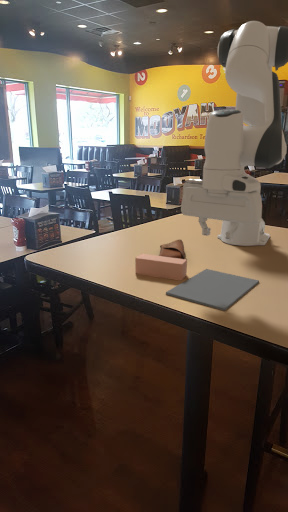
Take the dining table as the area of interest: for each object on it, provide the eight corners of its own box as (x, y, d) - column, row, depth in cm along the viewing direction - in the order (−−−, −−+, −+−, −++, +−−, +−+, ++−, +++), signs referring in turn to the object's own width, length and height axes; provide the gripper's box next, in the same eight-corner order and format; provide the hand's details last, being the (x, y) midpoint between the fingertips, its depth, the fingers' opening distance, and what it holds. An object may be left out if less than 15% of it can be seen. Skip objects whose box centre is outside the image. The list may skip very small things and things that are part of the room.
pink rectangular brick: (141, 269, 114) (141, 253, 113) (186, 276, 109) (187, 259, 107) (135, 274, 110) (135, 257, 109) (181, 281, 105) (182, 264, 103)
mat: (206, 270, 112) (206, 268, 112) (258, 282, 103) (259, 280, 103) (165, 294, 95) (165, 292, 95) (224, 310, 86) (224, 308, 86)
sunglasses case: (158, 244, 133) (171, 230, 131) (173, 257, 134) (186, 243, 132) (156, 260, 116) (171, 244, 114) (174, 274, 117) (188, 259, 115)
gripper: (177, 179, 94) (175, 233, 99) (257, 185, 83) (251, 246, 87) (189, 177, 99) (187, 228, 103) (267, 182, 88) (261, 240, 92)
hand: (217, 236), depth 95 cm, fingers open, 5 cm apart
